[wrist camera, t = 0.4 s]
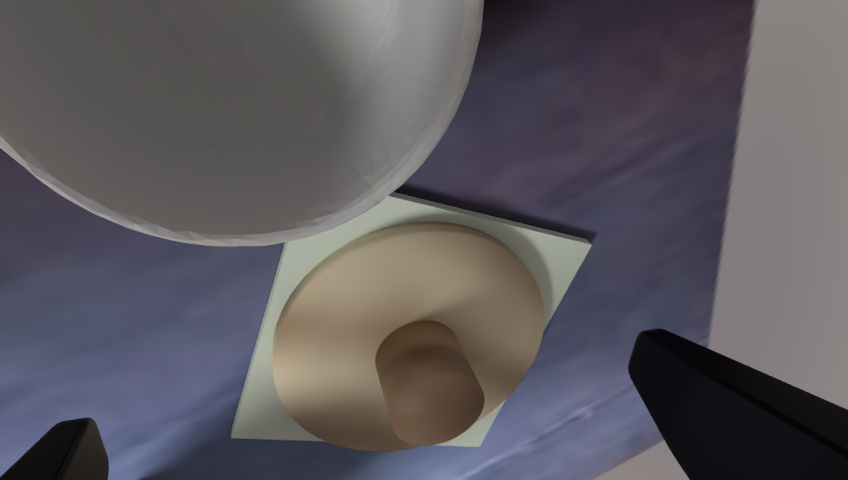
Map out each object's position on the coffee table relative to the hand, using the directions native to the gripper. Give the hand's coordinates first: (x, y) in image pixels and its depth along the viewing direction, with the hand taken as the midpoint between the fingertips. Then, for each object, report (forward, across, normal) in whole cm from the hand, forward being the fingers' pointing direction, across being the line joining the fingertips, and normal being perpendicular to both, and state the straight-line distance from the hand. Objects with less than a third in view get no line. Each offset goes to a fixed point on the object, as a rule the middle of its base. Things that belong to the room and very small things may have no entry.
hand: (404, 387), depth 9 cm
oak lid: (+13, -4, +10) cm, 17 cm away
